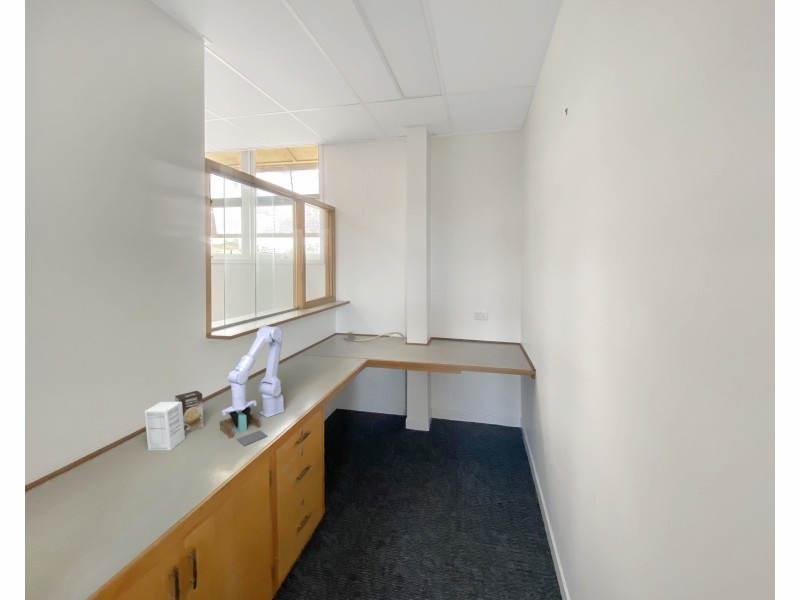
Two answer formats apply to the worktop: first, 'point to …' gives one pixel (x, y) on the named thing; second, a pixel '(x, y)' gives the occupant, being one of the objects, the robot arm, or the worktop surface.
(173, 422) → the supplement box
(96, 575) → the worktop surface
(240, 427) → the teal blank
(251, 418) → the walnut cubby
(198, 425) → the coffee box
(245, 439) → the charcoal mat
